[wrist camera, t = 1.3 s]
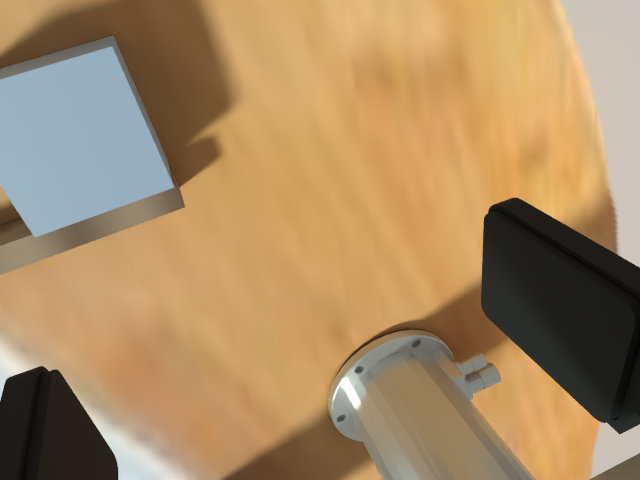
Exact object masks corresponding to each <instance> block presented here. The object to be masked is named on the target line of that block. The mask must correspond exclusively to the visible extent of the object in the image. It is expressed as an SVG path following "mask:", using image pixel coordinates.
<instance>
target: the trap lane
mask: <svg viewBox="0 0 640 480" xmlns="http://www.w3.org/2000/svg"><path fill="white" fill-rule="evenodd" d="M169 169H170V172H171V176H172V180H173V184H174V188H171V189H169V190H166V191H163V192H160V193H157V194H155V195H152V196H149V197H146V198H144V199H141V200H138V201H135V202H132V203H130V204H127V205H124V206H121V207H118V208H116V209H113V210H110V211H107V212H105V213H102V214H99V215H96V216H93V217H91V218H88V219H85V220H82V221H79V222H77V223H74V224H71V225H68V226H66V227H63V228H60V229H57V230H54V231H52V232H49V233H46V234H43V235H40V236H38V237H34V236H33V234H32V233H31V231H30V230H29V228H28V227H27V225H26V224H25V222H24V221H23V219H22V218H20V219H17V220H14V221H11V222H8V223H6V224H3V225H0V275H2V274H4V273H7V272H10V271H12V270H15V269H18V268H21V267H23V266H26V265H29V264H31V263H34V262H37V261H40V260H42V259H45V258H48V257H51V256H53V255H56V254H59V253H61V252H64V251H67V250H70V249H72V248H75V247H78V246H80V245H83V244H86V243H89V242H91V241H94V240H97V239H100V238H102V237H105V236H108V235H110V234H113V233H116V232H119V231H121V230H124V229H127V228H129V227H132V226H135V225H138V224H140V223H143V222H146V221H149V220H151V219H154V218H157V217H159V216H162V215H165V214H168V213H170V212H173V211H176V210H178V209H181V208H184V207H185V206H184V202H183V198H182V195H181V191H180V188H179V186H178V183H177V181H176V179H175V176H174V174H173V172H172V169H171V167H170V166H169Z"/></svg>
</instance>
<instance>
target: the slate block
mask: <svg viewBox="0 0 640 480" xmlns="http://www.w3.org/2000/svg"><path fill="white" fill-rule="evenodd" d="M0 186H1V187H2V189H3V190H4V192H5V193H6V195H7V196H8V198H9V199H10V201H11V203H12V204H13V206H14V207H15V209H16V210H17V212H18V213H19V215H20V216H21V218H22V219H23V221H24V222H25V224H26V225H27V227H28V228H29V230H30V231H31V233H32V234H33V236H34V237H38V236H40V235H43V234H46V233H49V232H52V231H54V230H57V229H60V228H63V227H66V226H68V225H71V224H74V223H77V222H79V221H82V220H85V219H88V218H91V217H93V216H96V215H99V214H102V213H105V212H107V211H110V210H113V209H116V208H118V207H121V206H124V205H127V204H130V203H132V202H135V201H138V200H141V199H144V198H146V197H149V196H152V195H155V194H157V193H160V192H163V191H166V190H169V189H171V188H174V184H173V180H172V176H171V172H170V169H169V165H168V161H167V157H166V155H165V153H164V150H163V148H162V146H161V143H160V141H159V139H158V137H157V134H156V132H155V130H154V127H153V125H152V123H151V120H150V118H149V116H148V113H147V111H146V109H145V107H144V104H143V102H142V100H141V97H140V95H139V93H138V90H137V88H136V86H135V84H134V81H133V79H132V77H131V74H130V72H129V70H128V67H127V65H126V63H125V60H124V58H123V56H122V54H121V51H120V49H119V47H118V44H117V42H116V40H115V37H114V35H112V36H109V37H105V38H102V39H98V40H95V41H92V42H88V43H85V44H81V45H78V46H75V47H71V48H68V49H64V50H61V51H58V52H54V53H51V54H47V55H44V56H41V57H37V58H34V59H30V60H27V61H24V62H20V63H17V64H13V65H10V66H7V67H3V68H0Z"/></svg>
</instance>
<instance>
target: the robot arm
mask: <svg viewBox="0 0 640 480" xmlns="http://www.w3.org/2000/svg"><path fill="white" fill-rule="evenodd" d="M481 305H482V309H483V311H484V313H485V315H486V316H487V317H488V318H489V319H490V320H491V321H492V322H493V323H494V324H495V325H496V326H497V327H498V328H499V329H500V330H502V331H503V332H504V333H505V334H506V335H507V336H508V337H509V338H510V339H511V340H512V341H513V342H514V343H515V344H516V345H518V346H519V347H520V348H521V349H522V350H523V351H524V352H525V353H526V354H527V355H528V356H529V357H530V358H531V359H532V360H534V361H535V362H536V363H537V364H538V365H539V366H540V367H541V368H542V369H543V370H544V371H545V372H546V373H547V374H548V375H549V376H551V377H552V378H553V379H554V380H555V381H556V382H557V383H558V384H559V385H560V386H561V387H562V388H563V389H564V390H565V391H567V392H568V393H569V394H570V395H571V396H572V397H573V398H574V399H575V400H576V401H577V402H578V403H579V404H580V405H581V406H582V407H584V408H585V409H586V410H587V411H588V412H589V413H590V414H591V415H592V416H593V417H594V418H596V419H597V420H598V421H600V422H604V423H606V422H607V423H608V424H609V425H610V426H611V427H613V428H614V429H615V430H616V431H617V432H618V433H619V434H621V433H623V432H625V431H627V430H629V429H631V428H633V427H635V426H637V425H639V424H640V268H639V267H638V266H635V265H634V264H632V263H631V262H629V261H627V260H625V259H624V258H622V257H620V256H618V255H617V254H615V253H613V252H611V251H610V250H608V249H606V248H604V247H603V246H601V245H599V244H598V243H596V242H594V241H592V240H591V239H589V238H587V237H585V236H584V235H582V234H580V233H578V232H577V231H575V230H573V229H571V228H570V227H568V226H566V225H565V224H563V223H561V222H559V221H558V220H556V219H554V218H552V217H551V216H549V215H547V214H545V213H544V212H542V211H540V210H538V209H537V208H535V207H533V206H532V205H530V204H528V203H526V202H525V201H523V200H521V199H519V198H511V199H508V200H506V201H503V202H500V203H497V204H494V205H492V206H491V207H490V209H489V212H488V214H486V215H485V217H484V232H483V262H482V292H481ZM500 381H501V377H500V374H499V372H498V370H497V368H496V367H495V366H494V365H493V364H492V363H487V362H486V359H485V357H484V356H483V354H482V353H480V352H477V353H475V354H473V355H471V356H468V357H466V359H464V360H462V361H460V362H458V361H456V360H454V357H453V354H452V352H451V350H450V349H449V348H448V346H447V345H446V344H445V343H444V342H443V341H442V340H441V339H440V338H439V337H438V336H436V335H434V334H433V333H430V332H426V331H423V330H404V331H398V332H395V333H391V334H388V335H385V336H383V337H381V338H378V339H376V340H374V341H373V342H371V343H369V344H368V345H366V346H365V347H363V348H362V349H360V350H359V351H358V352H357V353H356V354H354V355H353V356H352V357H351V358H350V359H349V360H348V361H347V362H346V364H345V365H344V366H343V367H342V368H341V370H340V371H339V373H338V374H337V376H336V377H335V379H334V382H333V384H332V386H331V388H330V392H329V396H328V410H329V414H330V417H331V419H332V421H333V423H334V425H335V427H336V429H337V430H338V431H339V432H340V433H341V434H342V435H344V436H345V437H347V438H349V439H352V440H355V441H359V442H363V443H364V445H365V447H366V449H367V451H368V453H369V455H370V456H371V458H372V460H373V462H374V464H375V466H376V468H377V470H378V472H379V474H380V476H381V478H382V479H383V480H535V478H534V477H533V476H532V475H531V474H530V472H529V471H528V470H527V469H526V467H525V466H524V465H523V464H522V463H521V461H520V460H519V459H518V458H517V457H516V455H515V454H514V453H513V452H512V451H511V449H510V448H509V447H508V446H507V444H506V443H505V442H504V441H503V440H502V438H501V437H500V436H499V435H498V434H497V432H496V431H495V430H494V429H493V428H492V426H491V425H490V424H489V423H488V421H487V420H486V419H485V418H484V417H483V415H482V414H481V413H480V412H479V411H478V409H477V408H476V407H475V406H474V405H473V403H472V402H471V401H470V400H471V399H472V398H473V394H474V393H476V392H478V391H480V390H482V389H486V388H488V387H490V386H492V385H494V384H496V383H498V382H500ZM0 480H118V466H117V462H116V458H115V456H114V454H113V452H112V450H111V449H110V447H109V446H108V444H107V443H106V441H105V440H104V438H103V437H102V435H101V433H100V432H99V430H98V429H97V427H96V426H95V424H94V423H93V421H92V420H91V418H90V417H89V415H88V414H87V412H86V411H85V409H84V408H83V406H82V405H81V403H80V402H79V400H78V399H77V397H76V396H75V394H74V393H73V391H72V389H71V388H70V386H69V385H68V383H67V382H66V380H65V379H64V377H63V376H62V374H61V373H60V372H59V371H58V370H52V371H48V370H47V369H46V368H45V367H43V366H40V367H37V368H34V369H32V370H29V371H26V372H23V373H20V374H17V375H15V376H12V377H9V378H8V379H7V380H6V382H5V385H4V389H3V393H2V397H1V401H0ZM590 480H640V453H639V454H637V455H636V456H634V457H632V458H630V459H628V460H626V461H624V462H622V463H620V464H618V465H616V466H615V467H613V468H611V469H609V470H607V471H605V472H603V473H601V474H599V475H597V476H595V477H594V478H592V479H590Z"/></svg>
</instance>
